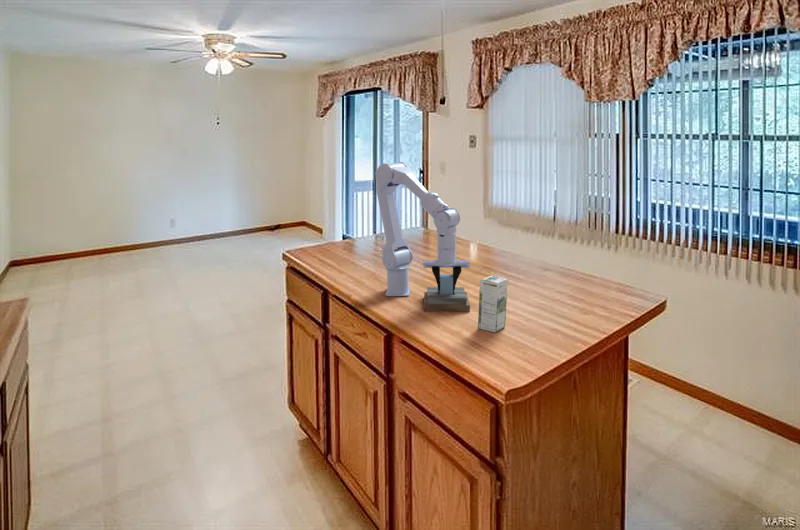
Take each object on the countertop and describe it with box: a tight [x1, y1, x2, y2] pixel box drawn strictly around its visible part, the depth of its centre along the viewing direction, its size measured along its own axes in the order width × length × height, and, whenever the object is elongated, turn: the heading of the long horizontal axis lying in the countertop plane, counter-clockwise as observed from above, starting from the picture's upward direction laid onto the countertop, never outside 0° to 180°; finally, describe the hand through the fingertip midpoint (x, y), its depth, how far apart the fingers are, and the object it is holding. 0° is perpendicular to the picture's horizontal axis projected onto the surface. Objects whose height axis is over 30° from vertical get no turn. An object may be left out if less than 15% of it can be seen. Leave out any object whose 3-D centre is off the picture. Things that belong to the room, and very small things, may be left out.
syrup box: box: [477, 275, 509, 333], centre depth 150 cm, size 6×6×14 cm
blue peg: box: [440, 273, 453, 295], centre depth 171 cm, size 4×4×7 cm
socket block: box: [423, 286, 471, 313], centre depth 172 cm, size 14×14×4 cm
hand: (446, 289), depth 171 cm, fingers closed on blue peg, 4 cm apart
